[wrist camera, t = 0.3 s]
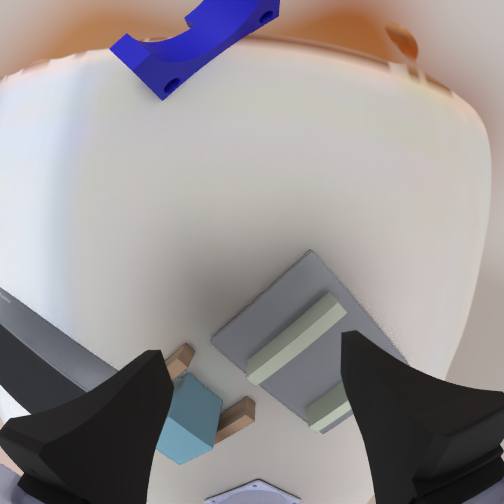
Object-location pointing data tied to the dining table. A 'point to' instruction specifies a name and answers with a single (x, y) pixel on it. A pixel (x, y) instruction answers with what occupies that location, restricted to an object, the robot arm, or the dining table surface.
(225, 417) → the cradle
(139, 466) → the robot arm
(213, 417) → the blue rectangular block
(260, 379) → the dock
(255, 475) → the dining table surface
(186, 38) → the blue cradle holder
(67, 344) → the external hard drive
